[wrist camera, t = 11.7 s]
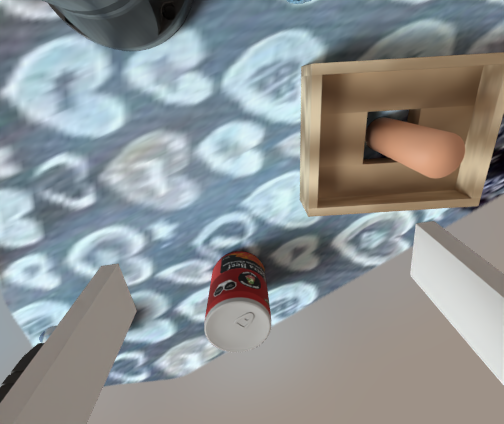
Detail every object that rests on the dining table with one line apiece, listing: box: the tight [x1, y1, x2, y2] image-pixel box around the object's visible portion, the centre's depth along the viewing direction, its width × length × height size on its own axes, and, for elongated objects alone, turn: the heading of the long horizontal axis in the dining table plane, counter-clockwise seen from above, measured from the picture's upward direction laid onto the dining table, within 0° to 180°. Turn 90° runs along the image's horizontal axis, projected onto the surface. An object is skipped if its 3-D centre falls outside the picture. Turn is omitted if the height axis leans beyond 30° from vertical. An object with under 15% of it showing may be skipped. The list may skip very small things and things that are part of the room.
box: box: [300, 52, 504, 217], centre depth 34 cm, size 16×20×6 cm
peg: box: [365, 117, 465, 178], centre depth 31 cm, size 4×4×12 cm
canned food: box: [205, 251, 271, 352], centre depth 39 cm, size 8×8×11 cm
